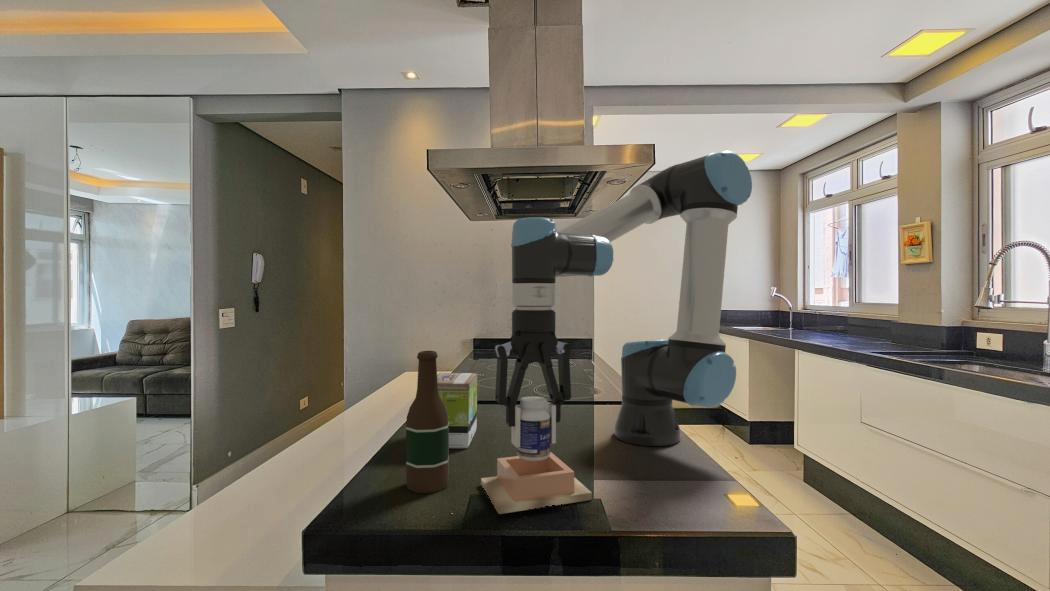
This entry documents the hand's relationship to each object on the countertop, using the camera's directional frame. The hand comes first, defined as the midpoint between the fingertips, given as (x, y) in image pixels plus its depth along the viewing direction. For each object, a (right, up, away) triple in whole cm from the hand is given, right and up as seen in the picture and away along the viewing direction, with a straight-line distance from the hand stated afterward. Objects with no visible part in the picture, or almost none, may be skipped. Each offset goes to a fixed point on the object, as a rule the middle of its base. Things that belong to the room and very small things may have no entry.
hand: (533, 442), depth 82 cm
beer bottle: (-19, -9, +3) cm, 21 cm away
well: (0, -7, 0) cm, 7 cm away
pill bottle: (0, -3, 0) cm, 3 cm away
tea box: (-19, -9, +31) cm, 37 cm away
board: (0, -9, 0) cm, 9 cm away
